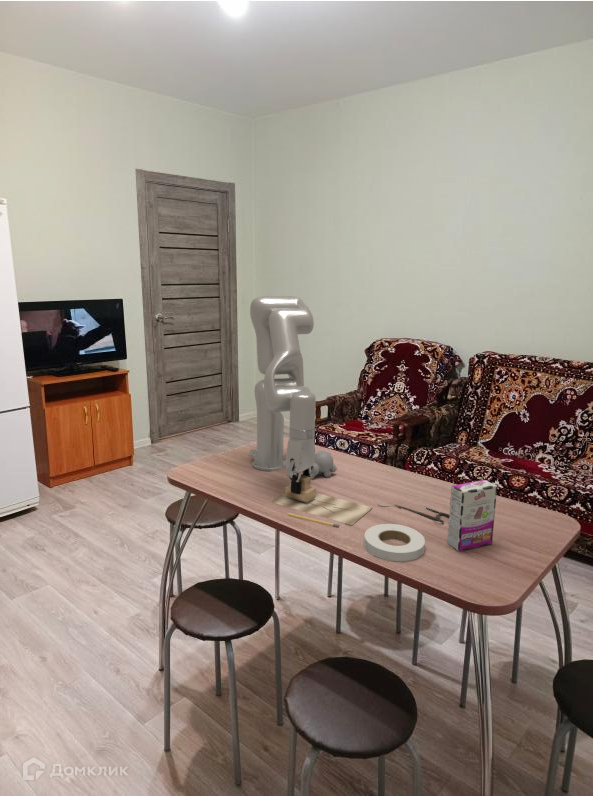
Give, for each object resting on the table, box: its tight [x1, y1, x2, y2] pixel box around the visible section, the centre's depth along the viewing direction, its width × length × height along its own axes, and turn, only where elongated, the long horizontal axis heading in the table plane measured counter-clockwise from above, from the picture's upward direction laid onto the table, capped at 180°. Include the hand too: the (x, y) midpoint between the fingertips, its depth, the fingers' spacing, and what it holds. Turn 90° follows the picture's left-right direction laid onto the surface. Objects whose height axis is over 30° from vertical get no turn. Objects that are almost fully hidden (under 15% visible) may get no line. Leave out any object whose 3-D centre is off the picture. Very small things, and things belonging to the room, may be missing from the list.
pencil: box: [287, 512, 340, 529], centre depth 153 cm, size 16×1×1 cm, turn 63°
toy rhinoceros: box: [310, 450, 338, 481], centre depth 186 cm, size 7×12×8 cm, turn 128°
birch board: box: [268, 491, 374, 527], centre depth 164 cm, size 28×14×1 cm, turn 58°
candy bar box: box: [447, 479, 498, 552], centre depth 140 cm, size 11×5×16 cm, turn 114°
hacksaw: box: [377, 503, 450, 525], centre depth 160 cm, size 24×10×2 cm, turn 43°
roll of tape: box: [363, 523, 426, 563], centre depth 140 cm, size 16×15×3 cm
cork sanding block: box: [284, 473, 317, 503], centre depth 166 cm, size 8×5×6 cm, turn 58°
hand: (300, 489), depth 167 cm, fingers closed on cork sanding block, 4 cm apart
